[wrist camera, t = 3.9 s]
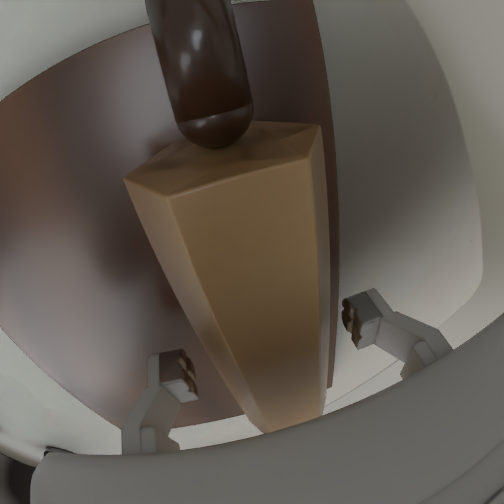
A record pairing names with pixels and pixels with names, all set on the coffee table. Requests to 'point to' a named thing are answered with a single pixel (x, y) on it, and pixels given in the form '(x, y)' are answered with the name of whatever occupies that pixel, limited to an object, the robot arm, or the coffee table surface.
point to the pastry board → (128, 207)
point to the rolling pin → (239, 220)
